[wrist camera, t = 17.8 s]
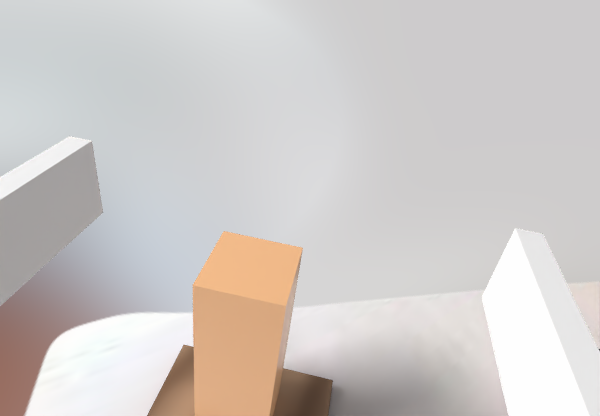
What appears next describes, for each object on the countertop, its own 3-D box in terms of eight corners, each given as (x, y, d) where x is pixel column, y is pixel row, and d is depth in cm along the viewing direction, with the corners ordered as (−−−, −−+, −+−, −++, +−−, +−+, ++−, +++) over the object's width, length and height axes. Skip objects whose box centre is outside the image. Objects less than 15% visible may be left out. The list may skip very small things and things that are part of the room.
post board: (330, 387, 45) (345, 334, 40) (315, 502, 35) (331, 450, 31) (184, 352, 46) (182, 296, 42) (131, 454, 37) (122, 397, 32)
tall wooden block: (218, 376, 43) (223, 231, 33) (279, 390, 42) (302, 247, 32) (194, 436, 38) (192, 285, 28) (263, 453, 37) (286, 306, 27)
